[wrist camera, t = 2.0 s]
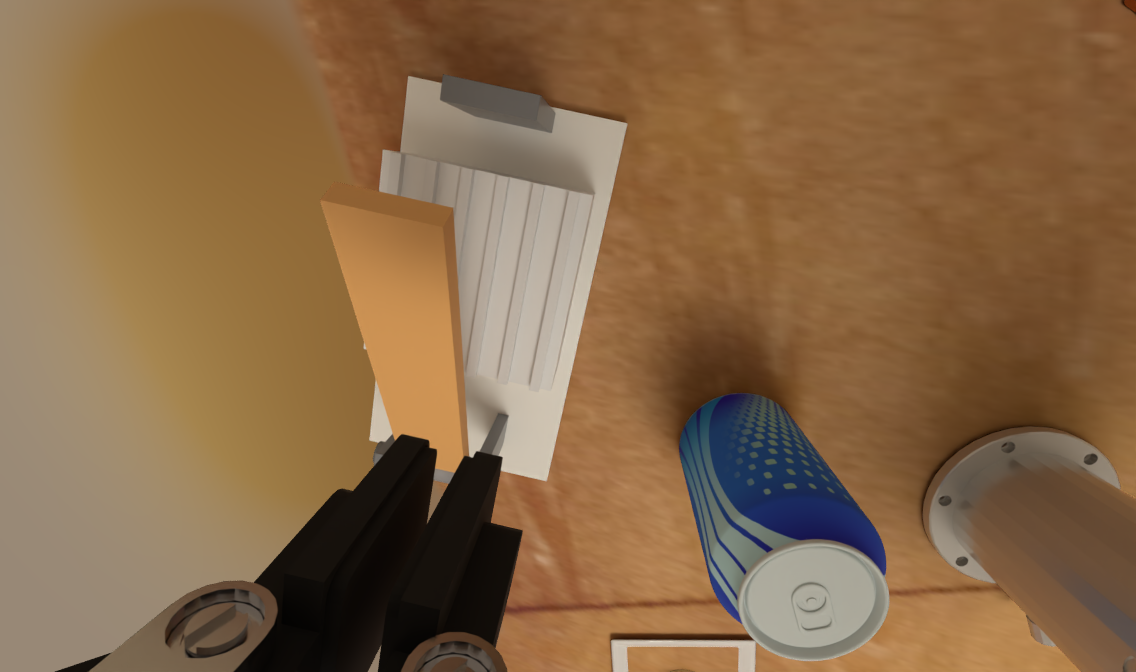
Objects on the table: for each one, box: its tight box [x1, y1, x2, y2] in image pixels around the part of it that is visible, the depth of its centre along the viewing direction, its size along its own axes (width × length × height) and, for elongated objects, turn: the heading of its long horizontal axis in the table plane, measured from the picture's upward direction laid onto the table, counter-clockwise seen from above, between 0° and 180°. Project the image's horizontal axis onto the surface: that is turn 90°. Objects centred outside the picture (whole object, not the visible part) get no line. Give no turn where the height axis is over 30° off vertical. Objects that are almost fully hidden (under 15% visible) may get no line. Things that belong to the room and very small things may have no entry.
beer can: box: [679, 393, 889, 661], centre depth 31 cm, size 8×8×16 cm
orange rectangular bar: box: [320, 182, 469, 484], centre depth 25 cm, size 21×4×2 cm
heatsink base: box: [364, 74, 627, 481], centre depth 33 cm, size 26×14×10 cm, turn 168°
